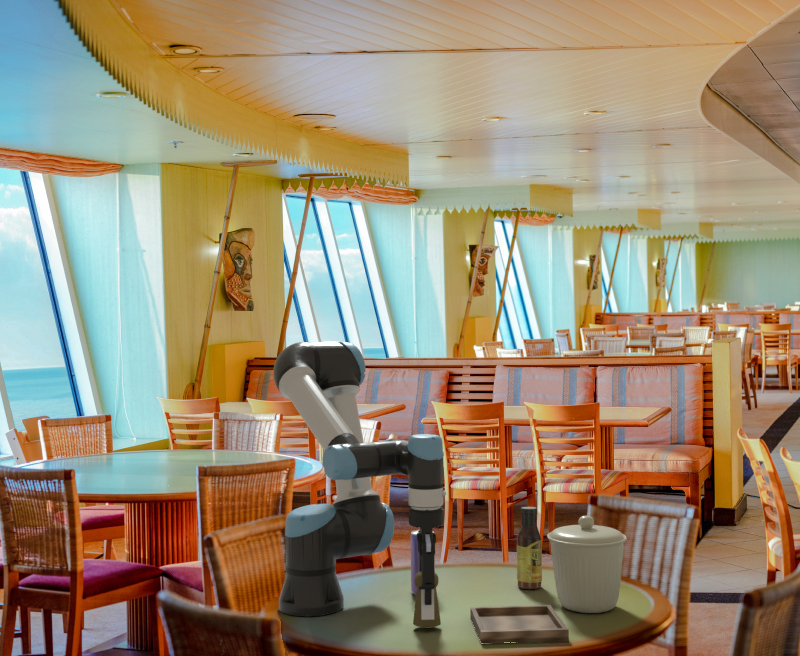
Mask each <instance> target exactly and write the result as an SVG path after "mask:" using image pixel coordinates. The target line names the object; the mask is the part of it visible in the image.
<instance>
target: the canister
mask: <svg viewBox="0 0 800 656" xmlns="http://www.w3.org/2000/svg"><path fill="white" fill-rule="evenodd" d="M546 537H547V539H548V540H549V544H550V551H551V553H550V554H551V558H552V559H551V560H552V561H551V562H552V568H553V575H554V582H555V589H556V594H557V599H558V601H559V603H560V604H561V606H562V607H564V608H565V609H567V610H569V611H572V612H576V613H583V614H601V613H605V612H608V611H611V610H612V609H613V610H614V608H615V607H616V605H617V603H618V601H619V597H620V591H621V590H620V589H621V580H622V572H623V571H622V570H623V560H624V559H623V558H624V545H625V542H626V541H627V539H628V538H627V536H626V535H625V534H623V533H622V532H621V531H619V530H618V529H616V528H614V527H609V526H604V525H597V524H595V520H594V518H593V517H592V516H590V515H582V516H580V517H579V518H578V524H571V525H563V526H559V527H556V528H554V530H552V531H550V532H548V533H547V534H546Z"/></svg>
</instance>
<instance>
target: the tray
mask: <svg viewBox="0 0 800 656" xmlns="http://www.w3.org/2000/svg"><path fill="white" fill-rule="evenodd" d="M469 612H470V620H472V621H471V623H472V622H473V623H472V625H474V626H473V628H474V627H475V628H474V630H475V632H477V633H476V635H477V634H478V635H477V637H479V638H478V639H480V640H479V642H480V641H481V643H504V642H510V643H511V642H516V643H515V644H530V643H529V642H546V643H569V641H570V640H569V639H570V638H569V637H570V635H569V634H570V633H569V632H570V631H569V628H568V627H567V625H566V624H565V623H564V621H563V620H562V618H561V617H560V616H559V615H558V613H557V612H556V611H555V609H554V608H553V606H552V605H551V604H541V605H540V604H535V605H534V604H533V605H505V606H504V605H503V606H501V605H500V606H499V605H498V606H493V605H492V606H470V611H469ZM517 642H518V643H517ZM481 643H480V644H481Z"/></svg>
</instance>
